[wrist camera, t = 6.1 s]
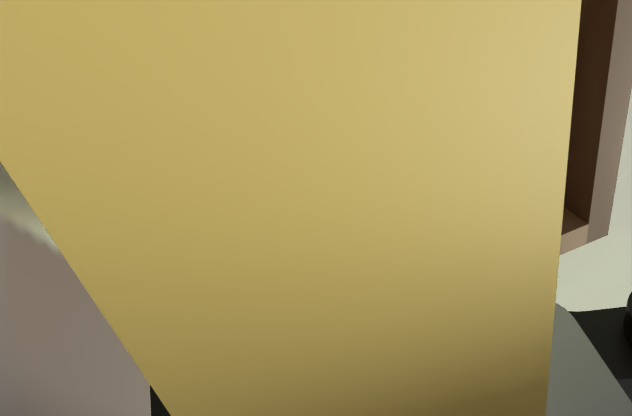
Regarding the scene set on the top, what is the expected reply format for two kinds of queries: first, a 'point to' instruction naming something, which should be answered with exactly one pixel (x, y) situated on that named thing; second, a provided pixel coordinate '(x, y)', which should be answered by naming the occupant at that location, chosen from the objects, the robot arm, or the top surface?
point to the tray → (597, 119)
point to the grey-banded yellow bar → (304, 192)
